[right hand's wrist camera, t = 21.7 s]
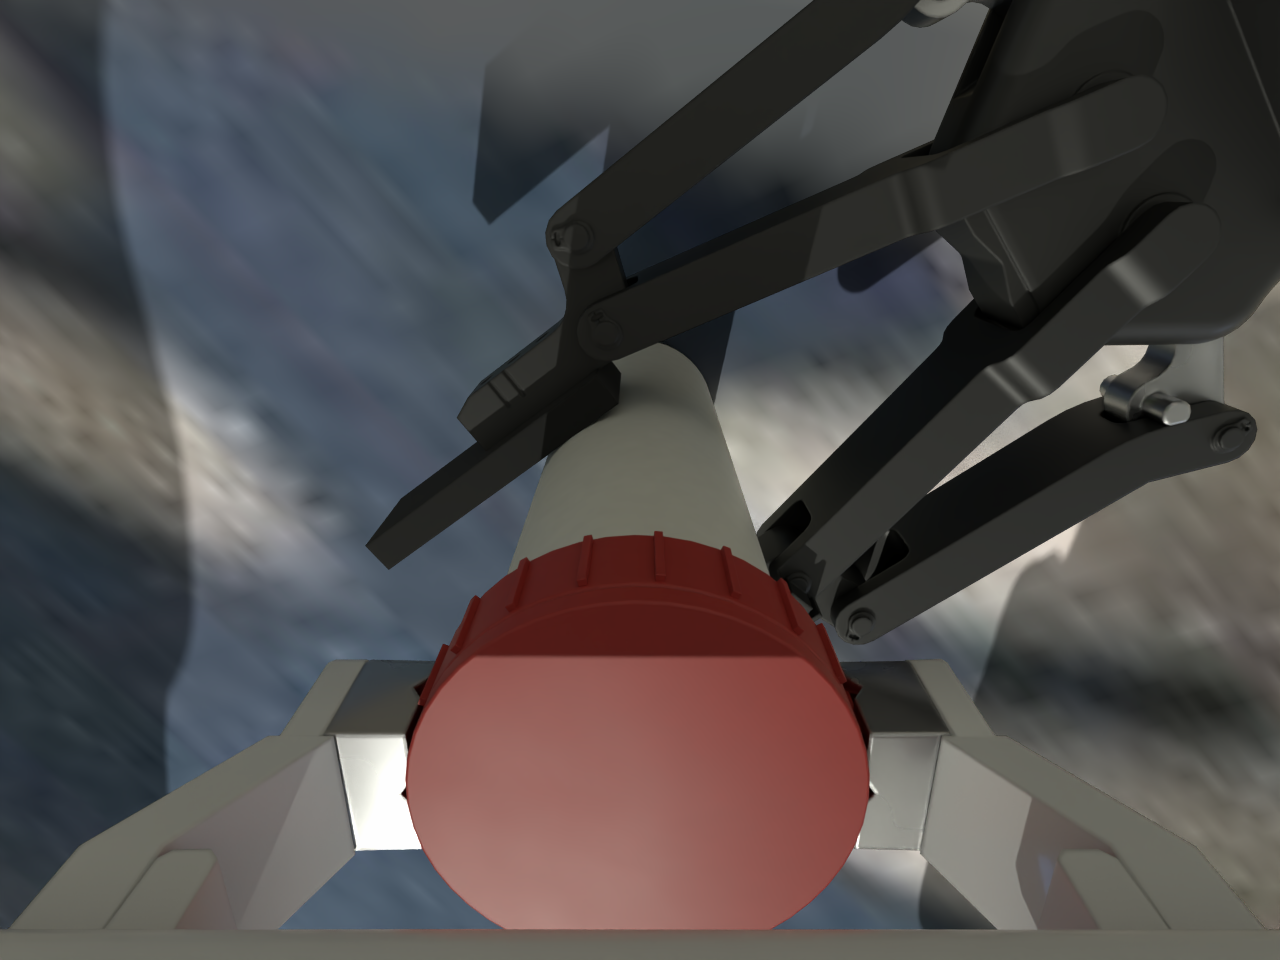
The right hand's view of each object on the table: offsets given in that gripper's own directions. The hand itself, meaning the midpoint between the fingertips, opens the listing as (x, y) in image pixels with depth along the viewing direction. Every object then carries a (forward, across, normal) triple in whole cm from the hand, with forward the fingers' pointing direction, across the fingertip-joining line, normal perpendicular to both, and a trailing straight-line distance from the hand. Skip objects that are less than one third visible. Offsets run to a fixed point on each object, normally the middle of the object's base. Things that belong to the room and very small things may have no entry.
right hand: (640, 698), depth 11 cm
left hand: (+8, -4, -3) cm, 9 cm away
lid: (-2, 0, 0) cm, 2 cm away
